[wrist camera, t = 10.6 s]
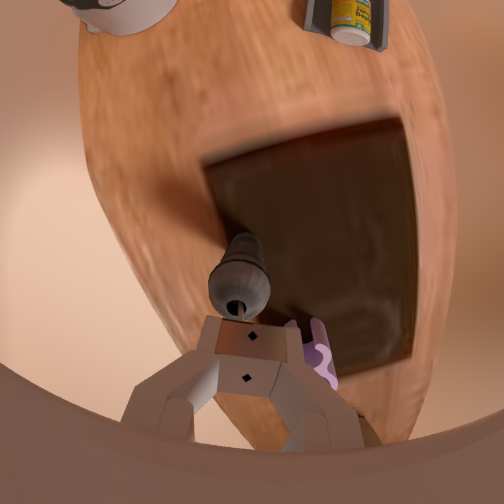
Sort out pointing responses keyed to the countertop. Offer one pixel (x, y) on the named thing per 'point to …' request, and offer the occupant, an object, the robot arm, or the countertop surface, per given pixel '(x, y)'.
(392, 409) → the countertop surface
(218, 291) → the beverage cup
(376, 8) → the tray
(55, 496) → the robot arm
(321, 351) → the clip
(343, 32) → the supplement bottle
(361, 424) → the plant pot
